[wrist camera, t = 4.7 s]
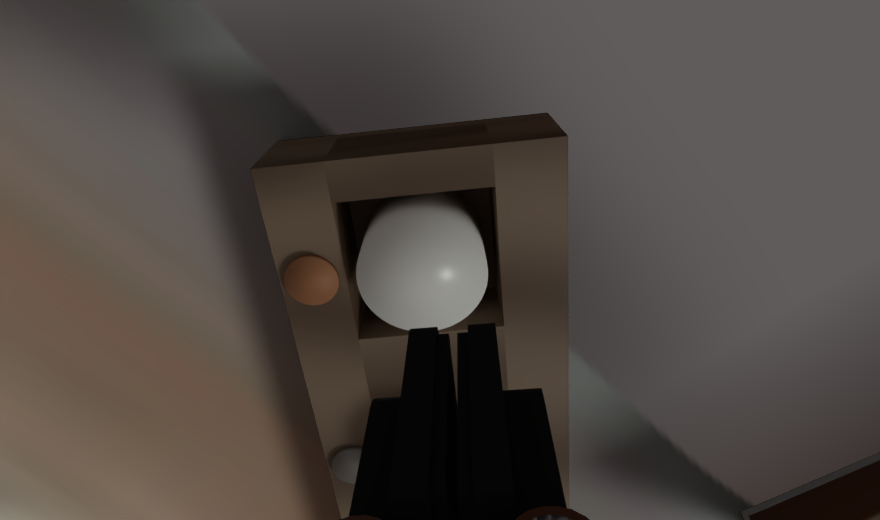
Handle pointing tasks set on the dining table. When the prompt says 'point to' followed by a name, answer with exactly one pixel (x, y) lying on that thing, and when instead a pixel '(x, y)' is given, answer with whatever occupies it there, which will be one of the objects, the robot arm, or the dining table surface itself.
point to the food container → (828, 497)
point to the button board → (340, 239)
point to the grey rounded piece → (422, 261)
